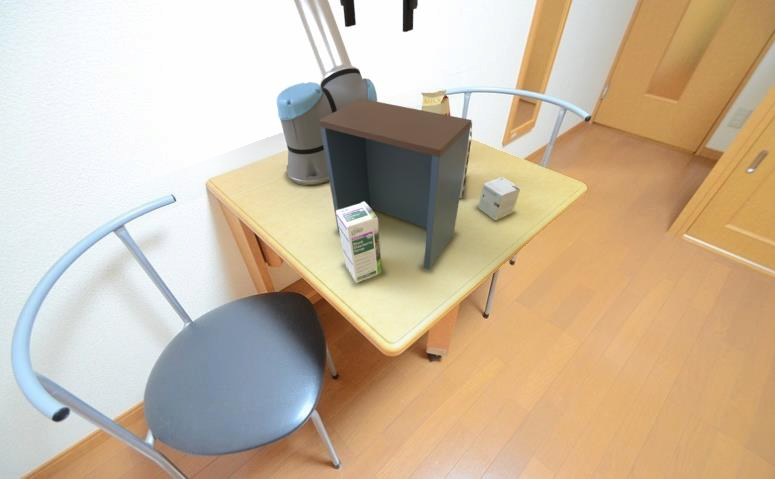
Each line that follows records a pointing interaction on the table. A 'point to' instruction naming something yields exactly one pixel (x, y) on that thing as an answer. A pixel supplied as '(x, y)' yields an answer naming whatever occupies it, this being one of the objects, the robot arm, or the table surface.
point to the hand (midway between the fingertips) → (378, 28)
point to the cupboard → (398, 165)
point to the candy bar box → (466, 162)
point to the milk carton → (436, 103)
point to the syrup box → (360, 240)
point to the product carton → (498, 198)
